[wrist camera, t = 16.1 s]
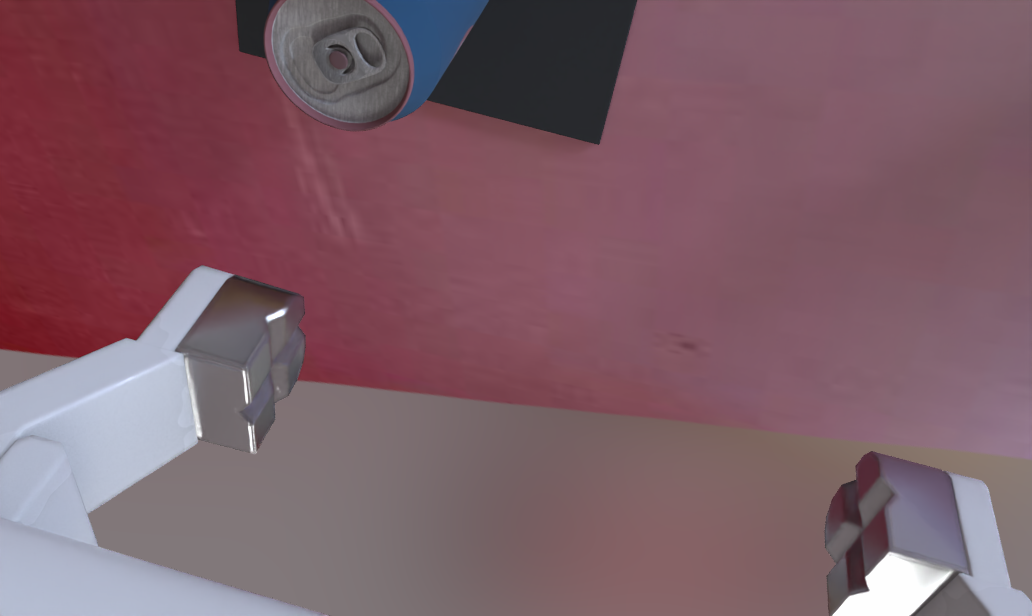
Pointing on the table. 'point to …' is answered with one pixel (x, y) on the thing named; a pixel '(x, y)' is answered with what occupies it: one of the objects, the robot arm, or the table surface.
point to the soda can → (363, 55)
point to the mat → (521, 61)
